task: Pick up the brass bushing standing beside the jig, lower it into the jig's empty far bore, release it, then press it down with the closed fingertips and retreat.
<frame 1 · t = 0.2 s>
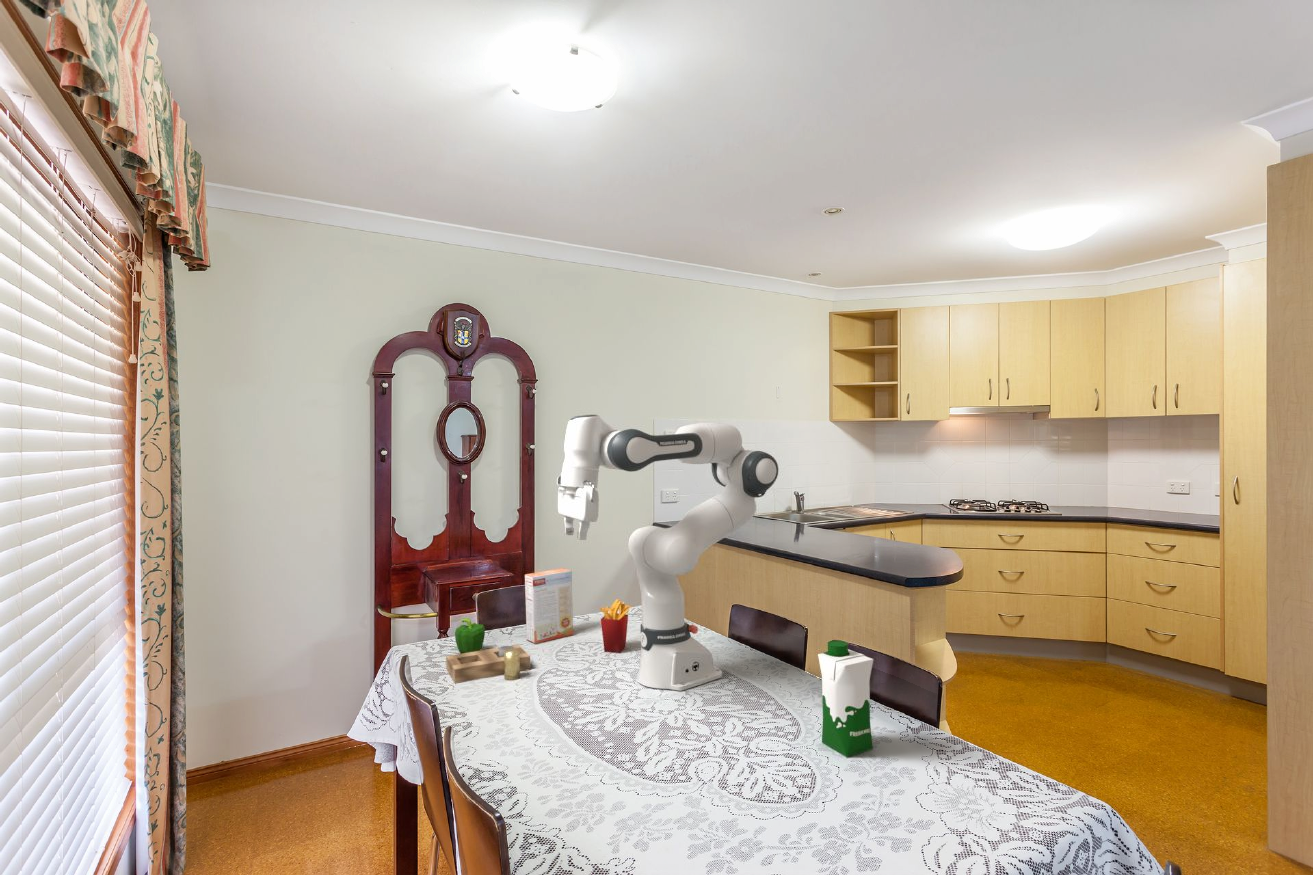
hand: (575, 537, 160), 39 cm above the table, tool pointing down, fingers open, 8 cm apart
cracker box: (549, 638, 208), on the table
bell pepper: (471, 653, 194), on the table
milk carton: (847, 746, 132), on the table
jig: (488, 669, 180), on the table
bushing: (512, 677, 173), on the table
french fries: (619, 650, 195), on the table
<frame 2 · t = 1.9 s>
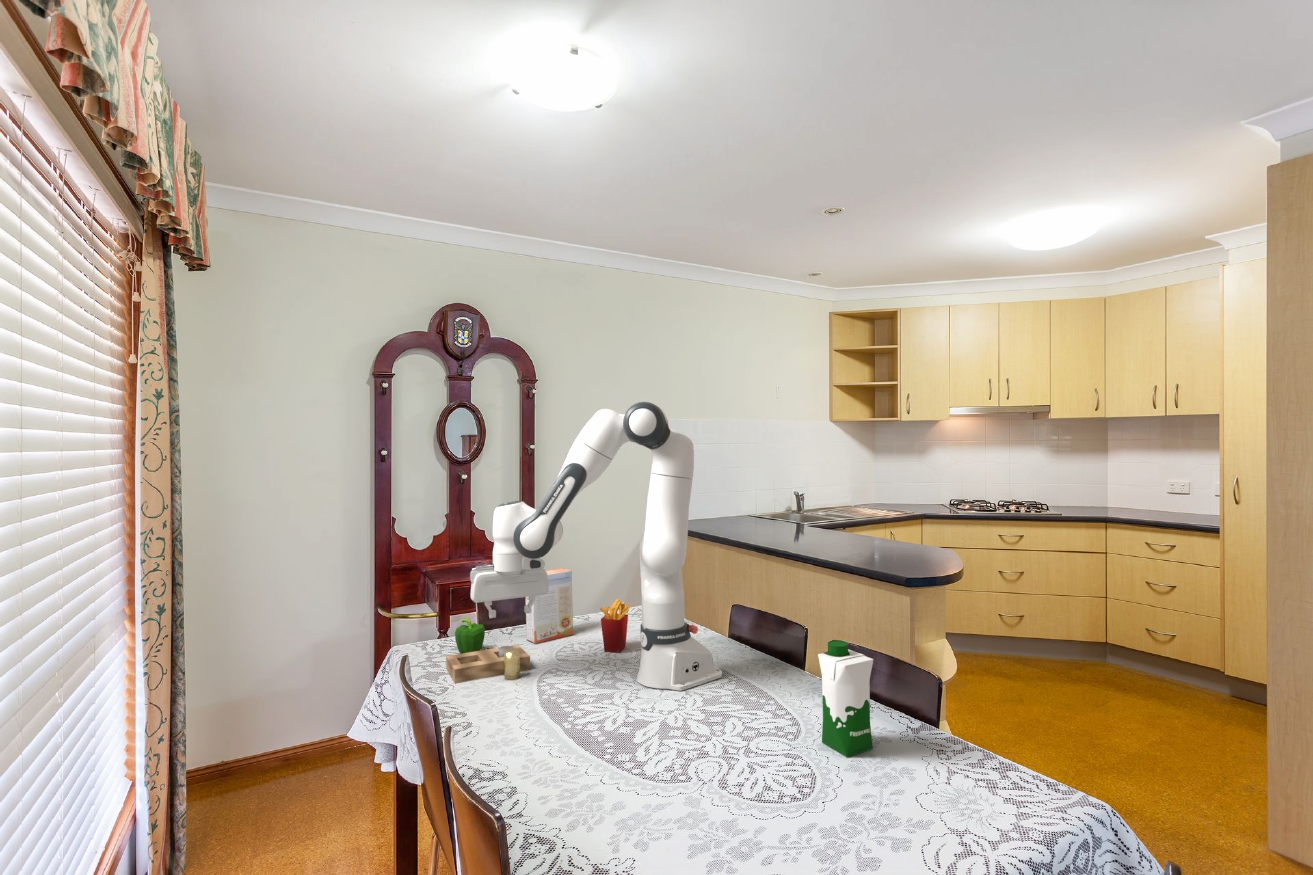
hand: (510, 615, 173), 16 cm above the table, tool pointing down, fingers open, 8 cm apart
nothing on the table moved.
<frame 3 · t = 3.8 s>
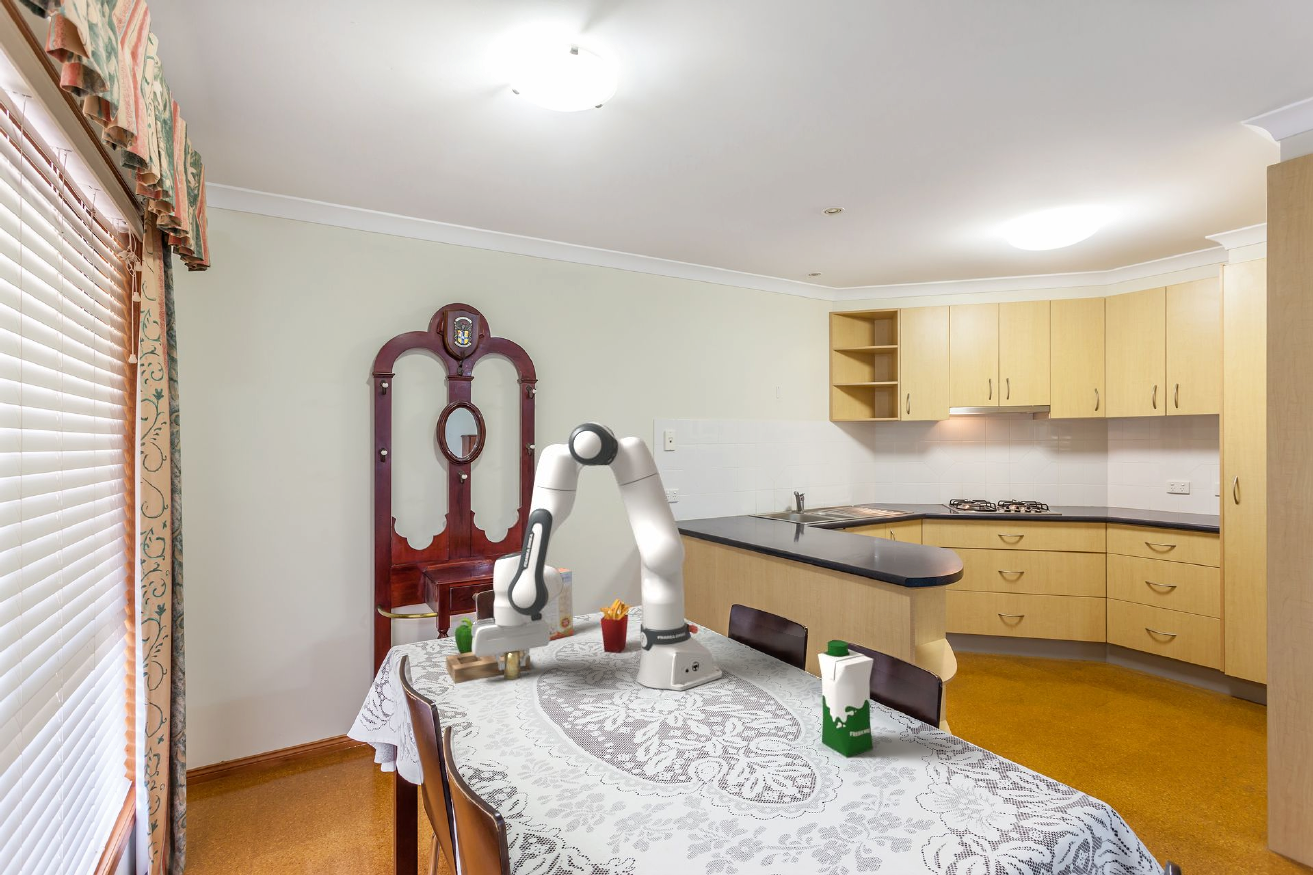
hand: (511, 667, 173), 3 cm above the table, tool pointing down, fingers closed on bushing, 4 cm apart
bushing: (512, 677, 173), on the table, touching gripper
everything else where it was.
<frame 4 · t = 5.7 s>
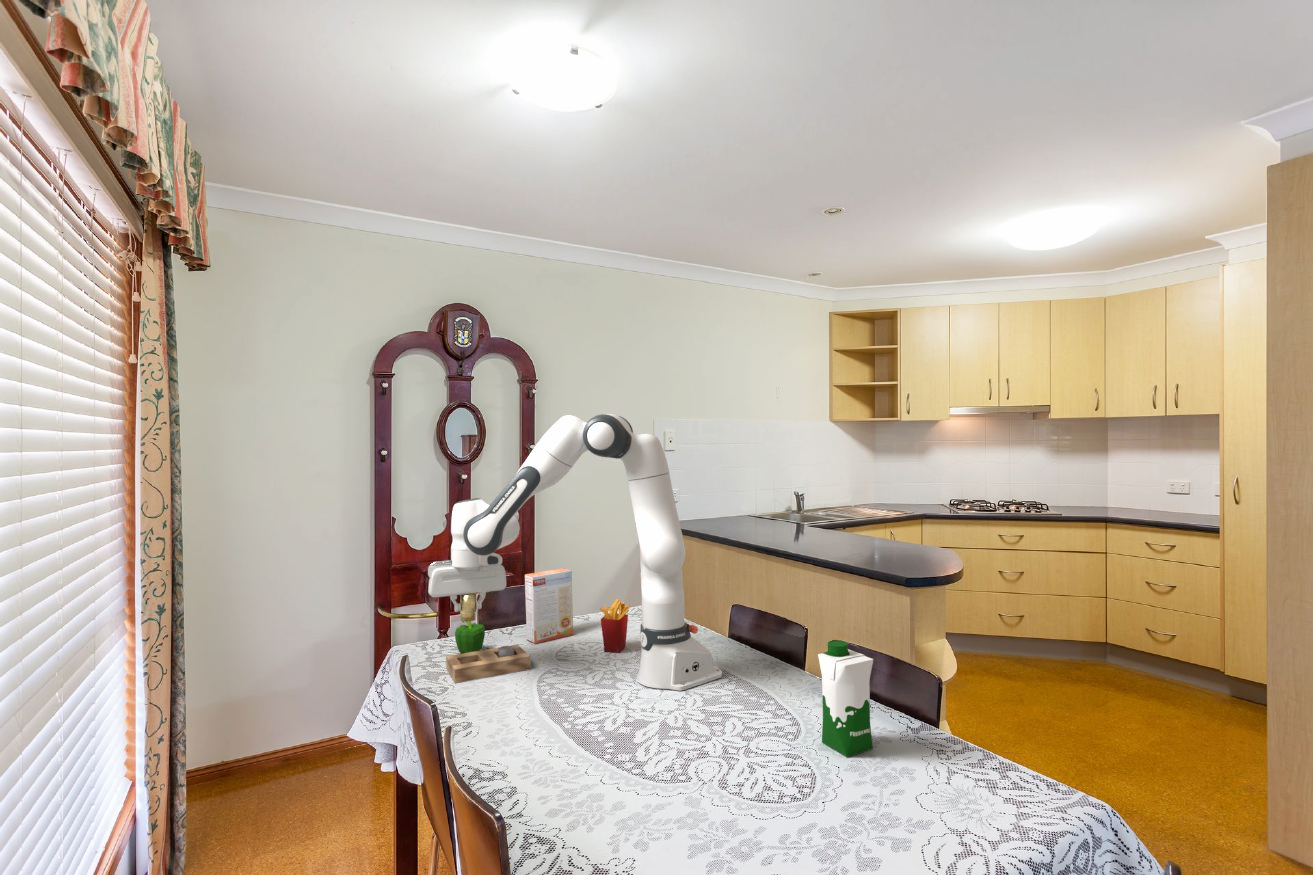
hand: (468, 609, 177), 17 cm above the table, tool pointing down, fingers closed on bushing, 4 cm apart
bushing: (467, 619, 177), point 14 cm above the table, touching gripper
everything else where it was.
when the fingers open (4 cm above the table, at t = 7.7 s): bushing drops 2 cm, resting in jig.
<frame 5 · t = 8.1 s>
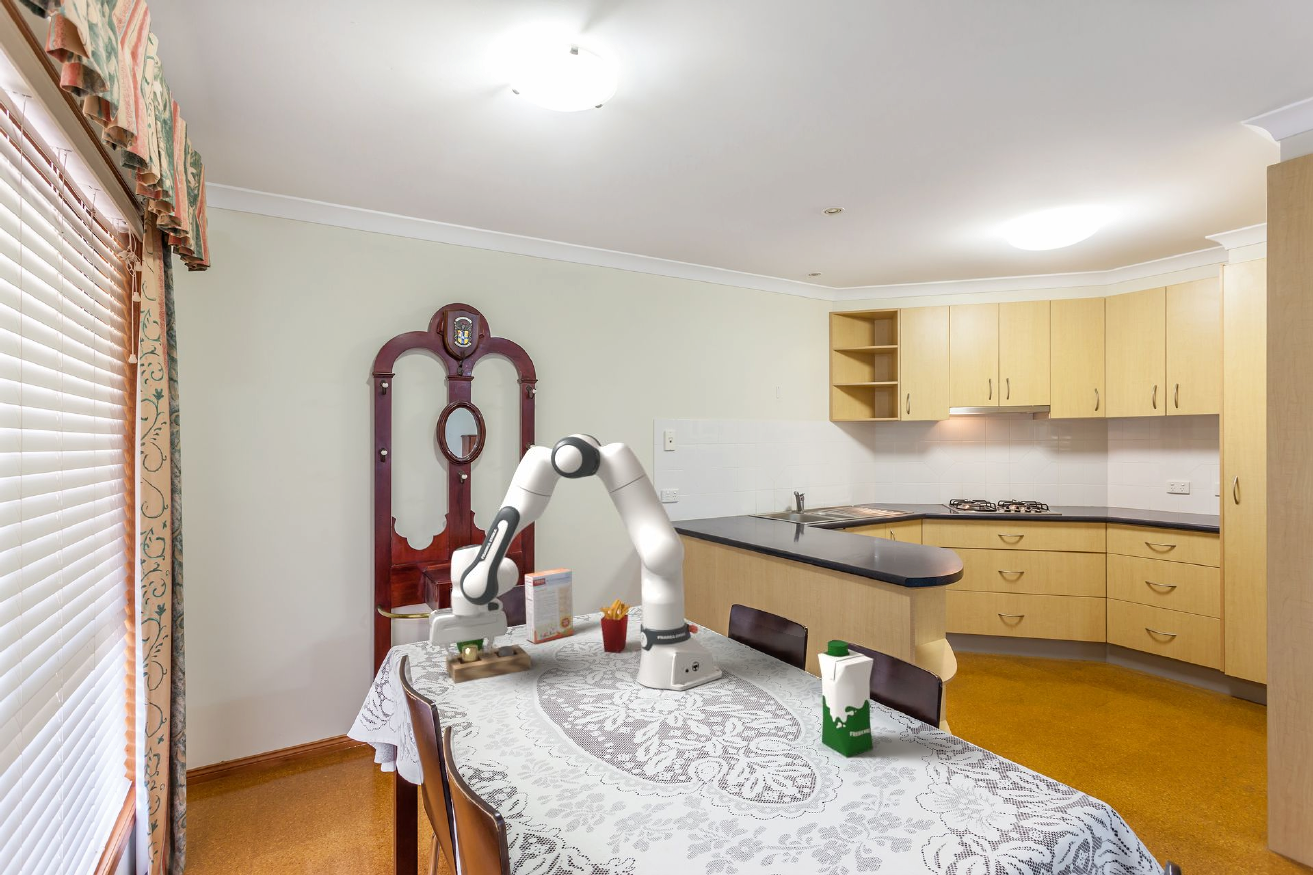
hand: (469, 656, 178), 4 cm above the table, tool pointing down, fingers open, 8 cm apart
bushing: (470, 672, 178), resting in jig
everything else where it was.
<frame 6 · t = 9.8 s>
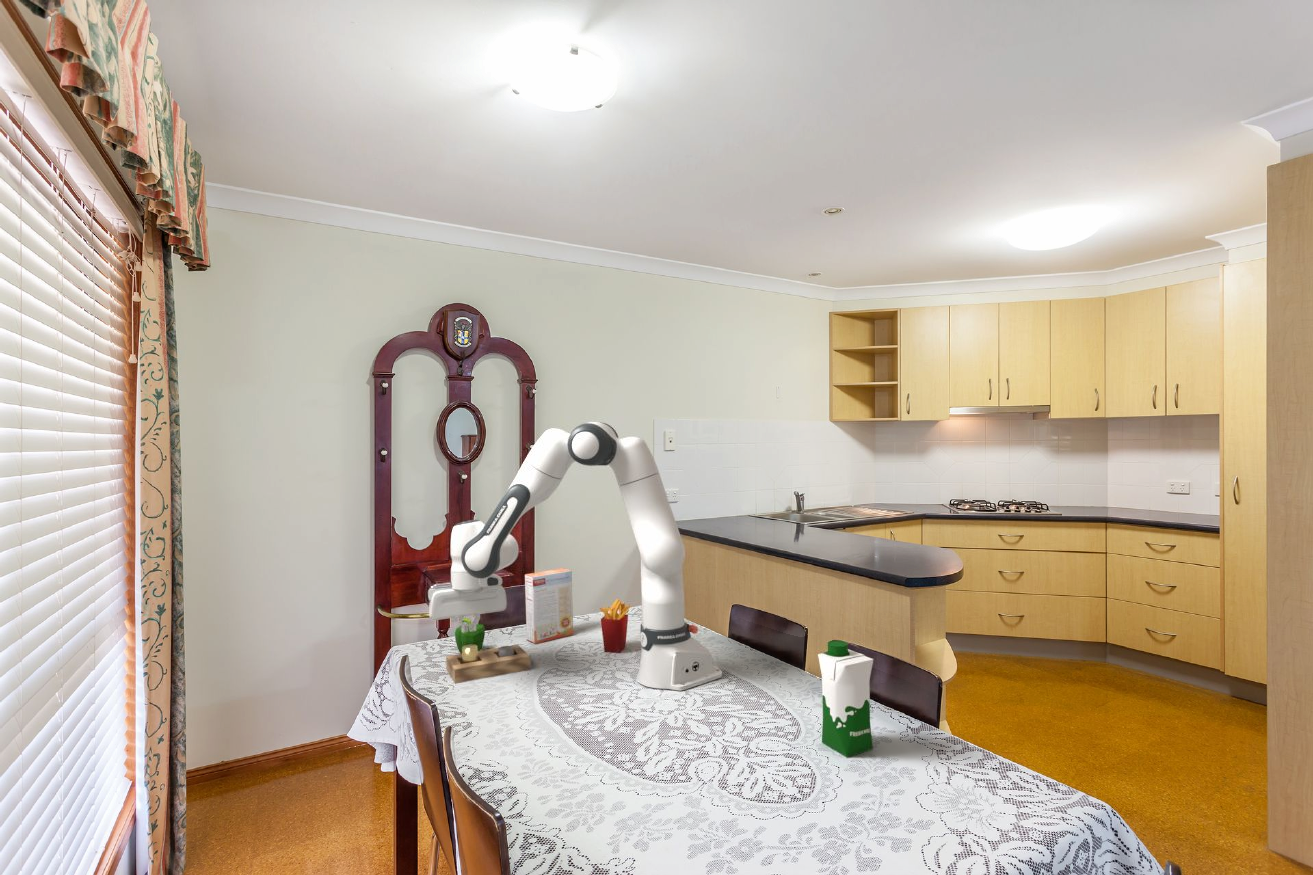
hand: (468, 631, 178), 11 cm above the table, tool pointing down, fingers closed
nothing on the table moved.
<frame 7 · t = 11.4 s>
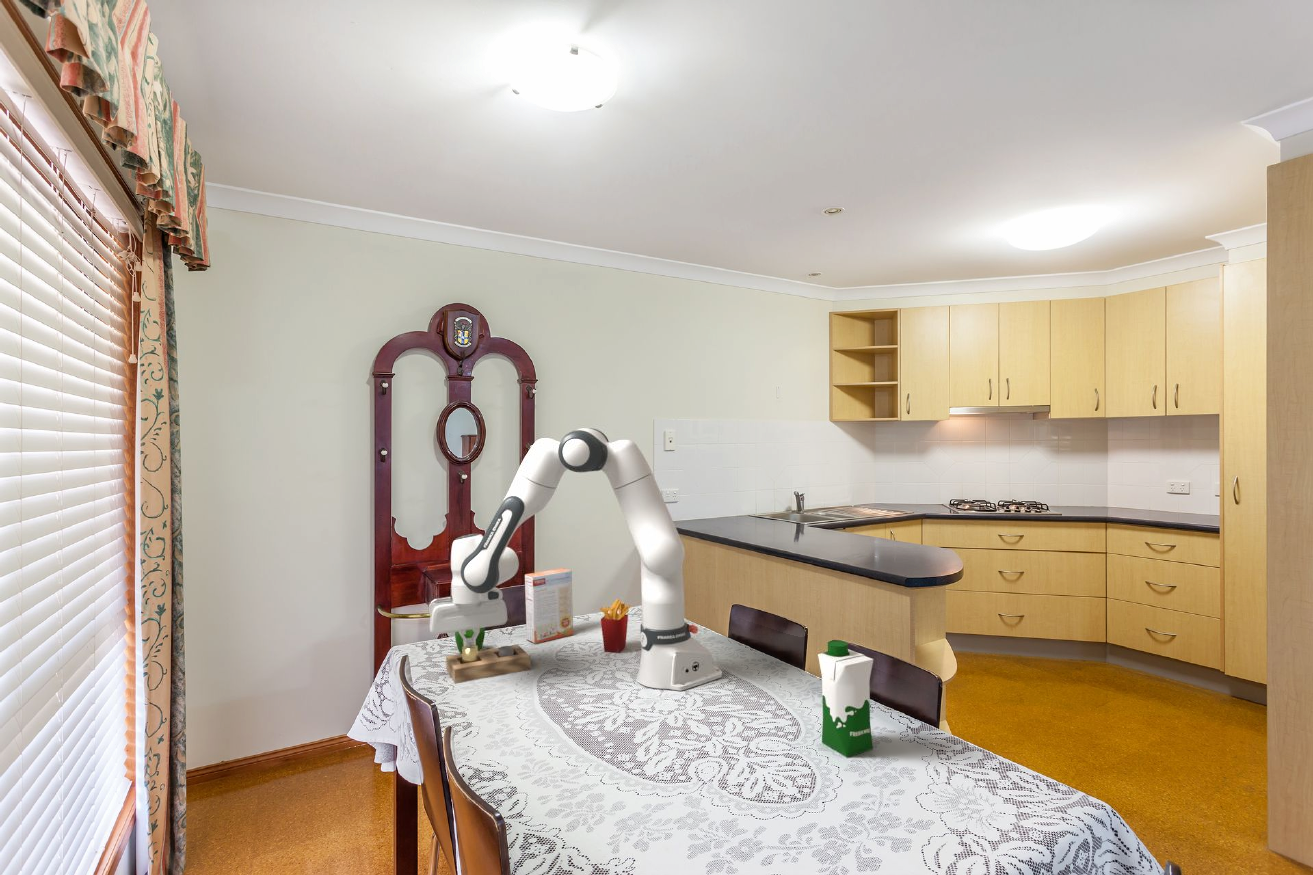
hand: (469, 645, 178), 7 cm above the table, tool pointing down, fingers closed
nothing on the table moved.
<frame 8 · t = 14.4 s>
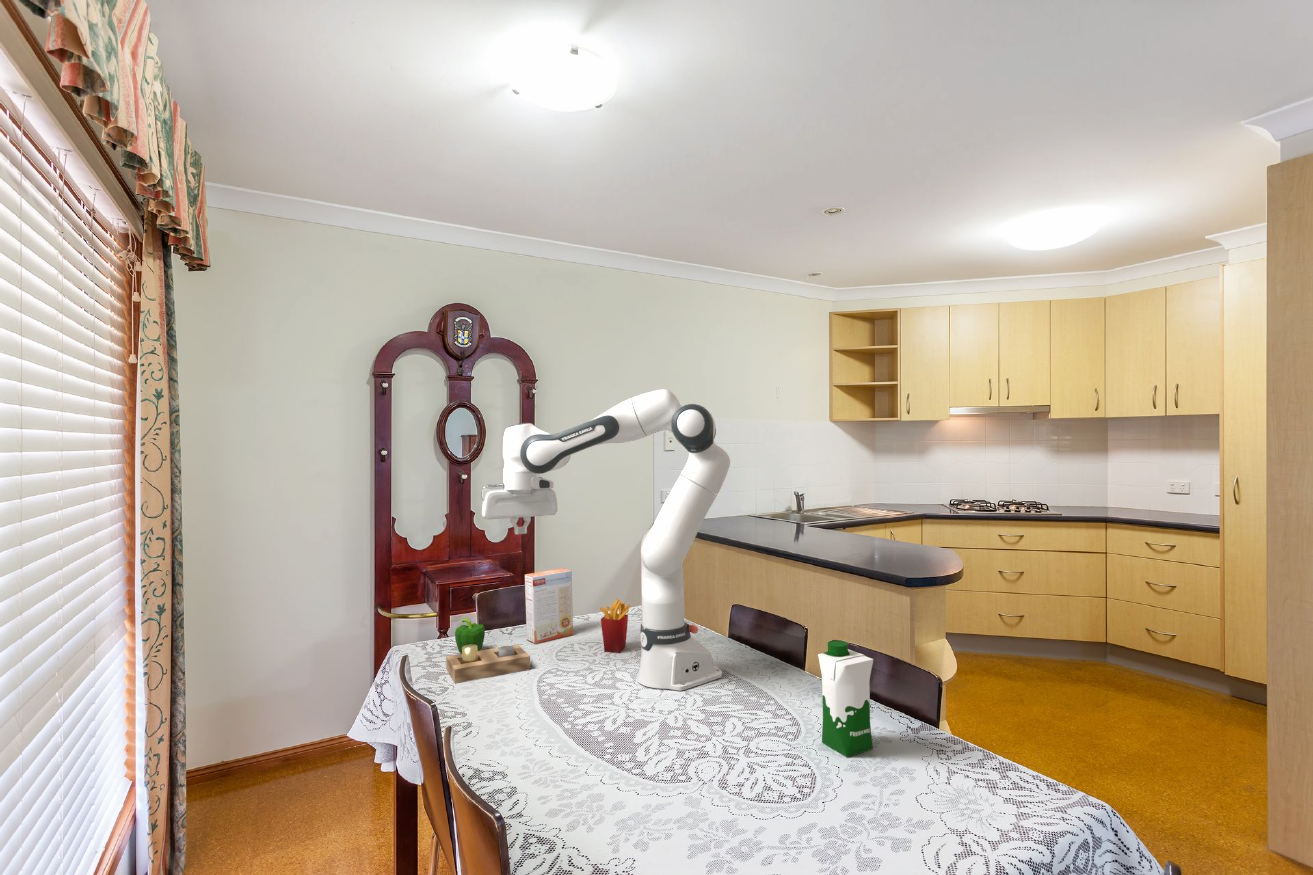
hand: (520, 533, 178), 37 cm above the table, tool pointing down, fingers closed
nothing on the table moved.
at the end: bushing 0.1 cm from the target spot on the jig, point 0.0 cm above the jig's base; bushing tilted 0°; the gripper is holding nothing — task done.
